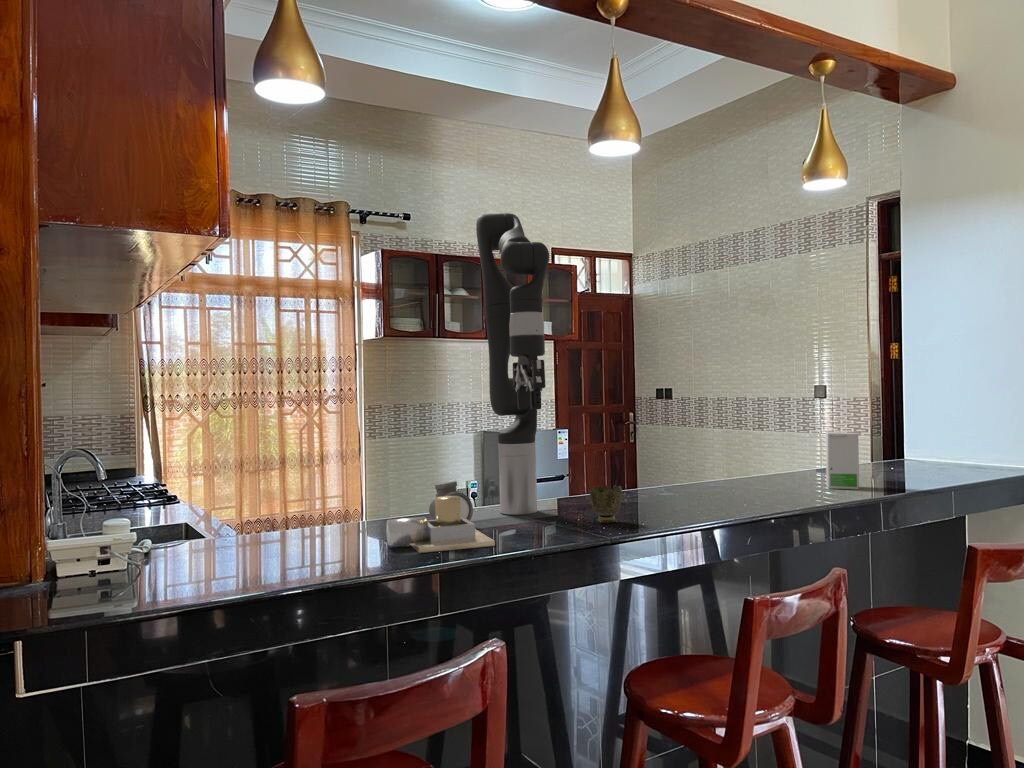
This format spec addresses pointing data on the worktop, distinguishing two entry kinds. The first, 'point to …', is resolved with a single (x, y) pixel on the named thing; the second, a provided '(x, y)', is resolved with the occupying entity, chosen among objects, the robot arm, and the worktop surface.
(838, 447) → the skincare box
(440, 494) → the pipe fitting
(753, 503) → the worktop surface
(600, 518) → the cup
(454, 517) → the brass cylinder plug
